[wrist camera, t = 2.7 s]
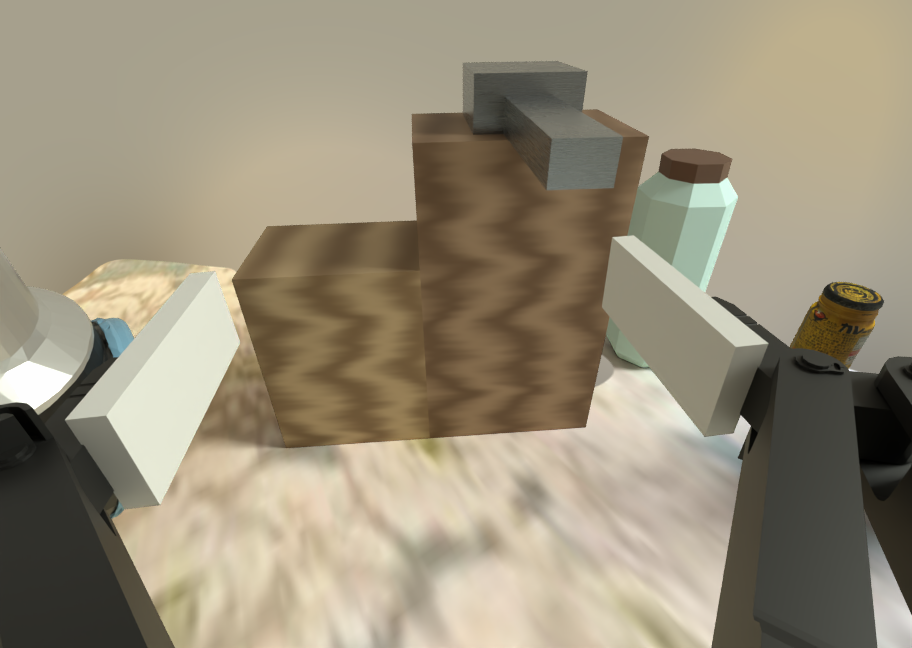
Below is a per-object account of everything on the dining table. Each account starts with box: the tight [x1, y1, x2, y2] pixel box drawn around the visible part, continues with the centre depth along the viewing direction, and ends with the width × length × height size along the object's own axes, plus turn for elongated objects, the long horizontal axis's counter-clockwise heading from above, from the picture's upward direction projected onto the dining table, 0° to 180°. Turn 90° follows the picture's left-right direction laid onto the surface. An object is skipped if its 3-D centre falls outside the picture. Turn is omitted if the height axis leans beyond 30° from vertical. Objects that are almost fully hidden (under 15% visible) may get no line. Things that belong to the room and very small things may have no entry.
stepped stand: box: [232, 110, 649, 448], centre depth 45 cm, size 32×11×30 cm, turn 95°
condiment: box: [790, 282, 884, 369], centre depth 53 cm, size 7×8×12 cm
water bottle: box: [606, 149, 738, 367], centre depth 54 cm, size 10×10×25 cm
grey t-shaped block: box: [463, 61, 623, 190], centre depth 31 cm, size 8×21×4 cm, turn 5°
